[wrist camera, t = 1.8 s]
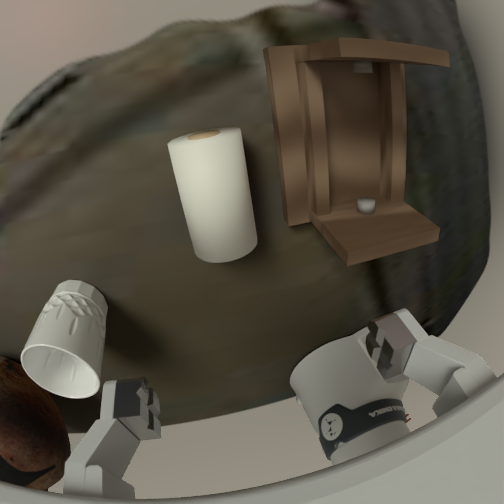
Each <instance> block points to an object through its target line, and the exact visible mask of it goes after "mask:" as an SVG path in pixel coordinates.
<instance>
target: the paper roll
mask: <svg viewBox="0 0 504 504" xmlns="http://www.w3.org/2000/svg"><path fill="white" fill-rule="evenodd" d="M168 148H169V152H170V157H171V161H172V165H173V169H174V174H175V178H176V182H177V186H178V190H179V194H180V198H181V202H182V206H183V210H184V214H185V218H186V221H187V225H188V229H189V233H190V236H191V240H192V244H193V247H194V251H195V254H196V256H197V257H198V258H200V259H201V260H204V261H207V262H213V263H221V262H228V261H232V260H236V259H239V258H241V257H243V256H245V255H247V254H248V253H250V252H251V251H252V250H253V249H254V248H255V246H256V245H257V233H256V226H255V220H254V213H253V207H252V200H251V193H250V187H249V180H248V174H247V167H246V161H245V154H244V148H243V141H242V135H241V129H240V128H237V127H222V128H214V129H208V130H203V131H198V132H194V133H190V134H187V135H184V136H181V137H178V138H176V139H174V140H172V141H170V142H169V143H168Z"/></svg>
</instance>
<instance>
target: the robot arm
mask: <svg viewBox="0 0 504 504" xmlns="http://www.w3.org/2000/svg"><path fill="white" fill-rule="evenodd" d="M408 377H409V378H411V379H412V380H414V381H416V382H417V383H419V384H420V385H422V386H424V387H425V388H427V389H429V390H430V391H432V392H434V393H435V394H437V395H439V397H438V399H437V400H436V402H435V403H434V405H433V410H434V412H435V413H436V415H437V417H438V418H436V419H435V420H433V421H431V422H429V423H427V424H426V425H424V426H422V427H420V428H418V429H416V430H414V431H412V432H410V431H409V429H408V427H407V425H406V423H407V422H408V421H409V420H410V419H411V418H409V419H408V420H407V419H406V417H407V416H408V415H409V414H406V415H405V409H404V408H403V404H402V401H401V400H402V397H403V394H404V392H405V390H406V387H407V385H408V382H409V378H408ZM290 385H291V387H292V389H293V390H294V391H295V393H296V400H297V402H298V404H299V405H302V406H303V408H304V410H305V412H306V414H307V416H308V418H309V419H310V422H311V424H312V425H313V427H314V429H315V431H316V433H317V434H318V435H320V437H319V439H320V443H321V445H322V450H323V452H324V453H325V455H326V457H327V459H328V460H331V461H332V464H333V466H330V467H328V468H324V469H322V470H318V471H315V472H312V473H309V474H306V475H302V476H298V477H295V478H291V479H287V480H283V481H279V482H275V483H272V484H267V485H262V486H258V487H253V488H248V489H242V490H237V491H231V492H225V493H218V494H210V495H203V496H193V497H181V498H165V499H135V492H134V487H133V486H132V485H130V484H128V483H127V482H125V481H123V480H122V477H123V475H124V473H125V471H126V469H127V467H128V465H129V463H130V461H131V459H132V457H133V455H134V453H135V451H136V449H137V447H138V445H139V443H140V440H149V439H157V438H161V426H160V422H159V420H158V419H157V418H156V417H157V416H158V414H159V413H160V405H159V400H158V397H157V394H156V392H155V391H154V389H152V388H150V387H149V382H148V381H147V379H146V378H145V377H140V378H131V379H122V380H113V381H106V382H105V384H104V386H103V394H102V402H101V412H100V420H96V421H95V422H94V424H93V425H92V426H91V428H90V429H89V431H88V432H87V433H86V435H85V436H84V437H83V439H82V440H81V442H80V443H79V444H78V446H77V447H76V449H75V450H74V451H73V453H72V454H71V455H70V457H69V458H68V460H67V461H66V462H65V471H64V488H63V494H60V493H54V492H48V491H42V490H37V489H32V488H27V487H23V486H19V485H15V484H11V483H7V482H4V481H0V504H504V373H503V374H502V375H501V376H499V377H498V378H497V377H496V376H495V374H494V373H493V372H492V370H491V369H490V368H489V367H488V365H487V364H486V363H485V361H484V360H483V359H482V358H481V356H480V355H478V354H476V353H473V352H471V351H468V350H466V349H464V348H461V347H459V346H456V345H454V344H452V343H449V342H447V341H445V340H442V339H440V338H438V337H435V336H433V335H431V336H428V335H427V333H426V332H425V331H424V330H423V328H422V327H421V326H420V325H419V323H418V322H417V321H416V320H415V318H414V317H413V316H412V315H411V314H410V312H409V311H408V310H407V309H405V308H404V309H401V310H398V311H396V312H393V313H390V314H387V315H384V316H382V317H379V318H376V319H374V320H371V321H370V322H369V324H368V327H365V328H363V329H362V330H360V331H358V332H356V333H355V334H353V335H351V336H348V337H345V338H341V339H338V340H335V341H332V342H330V343H327V344H325V345H323V346H321V347H320V348H318V349H316V350H315V351H313V352H312V353H310V354H309V355H307V356H306V357H305V358H304V359H303V360H302V361H301V362H300V363H299V364H298V365H297V366H296V367H295V369H294V370H293V372H292V374H291V377H290Z"/></svg>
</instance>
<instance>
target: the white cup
mask: <svg viewBox="0 0 504 504" xmlns="http://www.w3.org/2000/svg"><path fill="white" fill-rule="evenodd" d="M107 311H108V306H107V303H106V301H105V298H104V296H103V295H102V294H101V293H100V292H99V291H98V290H97V289H96V288H95V287H94V286H92V285H90V284H88V283H86V282H83V281H79V280H67V281H65V282H62V283H60V284H59V285H58V286H57V288H56V289H55V291H54V292H53V294H52V296H51V298H50V300H49V301H48V302H47V303H46V305H45V307H44V309H43V310H42V312H41V314H40V315H39V317H38V319H37V321H36V323H35V326H34V328H33V330H32V332H31V334H30V336H29V338H28V340H27V342H26V345H25V347H24V349H23V351H22V354H21V363H22V366H23V368H24V370H25V372H26V373H27V374H28V376H29V377H30V378H31V379H32V380H33V381H34V382H35V383H37V384H38V385H39V386H41V387H42V388H44V389H46V390H48V391H50V392H52V393H54V394H57V395H60V396H63V397H67V398H76V399H79V398H87V397H90V396H92V395H94V394H95V393H96V392H97V391H98V390H99V387H100V379H101V368H102V359H103V351H104V343H105V332H106V318H107Z"/></svg>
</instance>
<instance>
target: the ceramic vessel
mask: <svg viewBox="0 0 504 504" xmlns="http://www.w3.org/2000/svg"><path fill="white" fill-rule="evenodd" d="M70 454H71V451H70V442H69V437H68V433H67V429H66V426H65V423H64V420H63V417H62V415H61V413H60V411H59V409H58V407H57V405H56V403H55V402H54V400H53V398H52V397H51V395H50V394H49V392H48V391H47V390H46V389H44V388H42V387H41V386H39V385H38V384H37V383H35V382H34V381H33V380H32V379H31V378H30V377H29V376H28V374H27V373H26V372H25V370H24V368H23V366H21V365H20V364H18V363H16V362H14V361H12V360H10V359H8V358H5V357H0V481H4V482H7V483H11V484H15V485H19V486H23V487H27V488H32V489H37V490H42V491H48V488H49V487H51V486H52V485H54V484H55V483H56V482H58V481H59V480H60V479H61V478H62V477H63V475H64V471H65V462H66V461H67V460H68V458H69V457H70Z"/></svg>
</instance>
